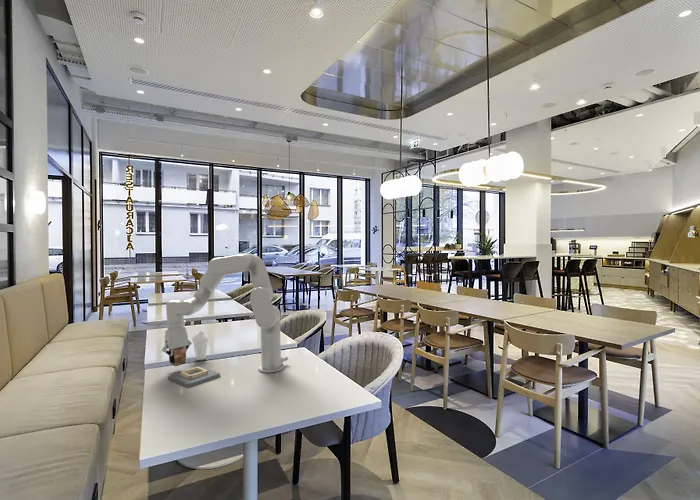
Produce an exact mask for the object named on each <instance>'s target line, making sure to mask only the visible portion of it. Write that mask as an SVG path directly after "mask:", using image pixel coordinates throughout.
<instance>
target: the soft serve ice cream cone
mask: <svg viewBox="0 0 700 500" xmlns="http://www.w3.org/2000/svg"><path fill="white" fill-rule="evenodd" d="M191 340H192V341H191V342H192V344H193V351H194V355H195V358H196V360H197V361H203V360H205V359H206V354H207V350H208V341H209V336H208V335H207V334H206V333H205V331H204V330H203V329H200V330H199V331H198V332H197V333H196V334H194V335H193V336H192V339H191Z"/></svg>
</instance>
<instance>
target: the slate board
mask: <svg viewBox="0 0 700 500" xmlns="http://www.w3.org/2000/svg"><path fill="white" fill-rule="evenodd" d="M167 377H168V378H167V379H168V380H170V381H172V382H175V383H177V384H179V385H182V386H184V387H186V388H191V387H193V386H197V385H200V384H202V383H205V382H208V381H211V380H213V379H217V378H220V377H221V373H220V372H217V371H215V370H212V369H209V368H207V367H203V366H201V365H198V366H195V367H191V368H188V369H185V370H182V371H177V372H175V373H172V374H169V375H167Z"/></svg>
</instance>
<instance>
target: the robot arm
mask: <svg viewBox="0 0 700 500" xmlns="http://www.w3.org/2000/svg"><path fill="white" fill-rule="evenodd" d="M246 271H248V272H249V274H250V281H251V283H252V288H253V289H252V291H251V292H250V293H249V294H250V295H249V300H250V305H251V309H252V314H253V316H254V320H255V323H256V324H257V326H258V327H259V328H260V355H261V359H260V360H261V364H260V365H259V366H258V369H257V370H258V371H259V372H261V373H266V374H267V373H269V374H271V373H277V372H280V371H282V370H284V369H285V364H284V362H286V361H288V360H289V357H288V356H283V357H282V351H281V350H282V349H281V347H282V345H281V322H282V321H281V318H282V317H281V315H282V314H281V311H280V309H279V308H278V307H277V306H276V305H273V303H272V300H273V299H274V290H273V287H272V283H271V280H270V277H269V273H268V270H267V267H266V264H265V262H264V260H263V259H262V258H261V257H260V256H258V255H256V254H254V253H253V254H252V253H248V252H247V253H246V252H245V253H240V254H235V255H229V256H223V257H222V256H219V257H214V258H212V259H211V260H209V261H208V263H207V265H206V271H205V272H204V274H203V275H202V276H201V278H200V279H199V287H198V289H197V290H196V292H195V293H194V294H193V295H192V297H191V298H188V299H185V300H181V299H174V300H168V301H166V304H165V307H166V309H165V310H166V324H167V325H166V326H167V328H165V332H164V346H163V347H162V349H161V352H163V353H165V354H166V355H168V360H169V364H171V363H172V364H174V363H175V362H174V355H173V352H174V349H177V348H181V347H184V348H185V361H186V360H187V359H186V358H187V351H188V349H189V347H190V346H191V345H192V344H193V342H192V341H191V340H189V336H188V331H187V327H186V324H187V321H186V320H184V316H185V317H187V316H191V315H194V314H195V313H197V312H199V311H201V310H202V309H203V308H204V306H205V305H206V304H207V302H208V301H209V300H210V298H211V297H212V295H213V293H214V291H215V289H217V287H218V286H219V285H220V283H221V282H222V280H223V279H224V278H225V277H226V275H227V276H228V275H232V274H238V273H239V274H240V273H243V272H246ZM167 349H168V350H167Z"/></svg>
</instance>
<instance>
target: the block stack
mask: <svg viewBox="0 0 700 500" xmlns="http://www.w3.org/2000/svg"><path fill="white" fill-rule="evenodd" d="M173 355H174V362H175V363H174V364H172V363H170V365H171V366H174V367H178V366H181V365H185V364H186V360H185V348H184V347H181V348H177V349H174V352H173Z"/></svg>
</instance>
